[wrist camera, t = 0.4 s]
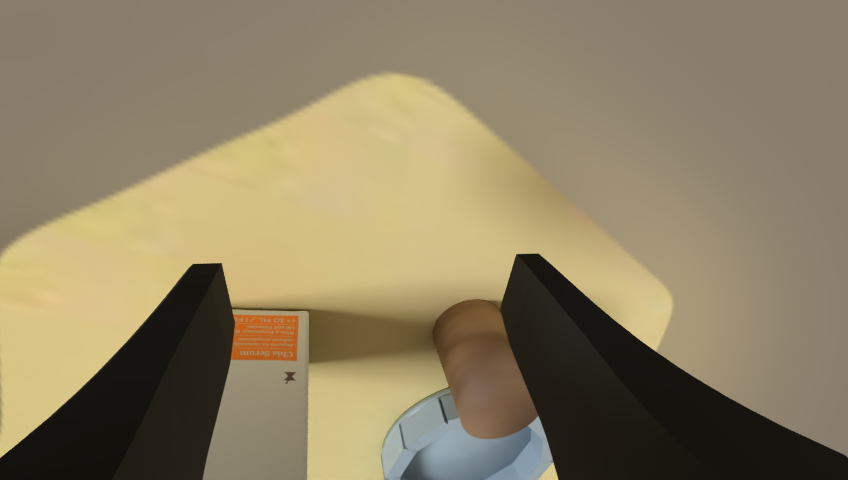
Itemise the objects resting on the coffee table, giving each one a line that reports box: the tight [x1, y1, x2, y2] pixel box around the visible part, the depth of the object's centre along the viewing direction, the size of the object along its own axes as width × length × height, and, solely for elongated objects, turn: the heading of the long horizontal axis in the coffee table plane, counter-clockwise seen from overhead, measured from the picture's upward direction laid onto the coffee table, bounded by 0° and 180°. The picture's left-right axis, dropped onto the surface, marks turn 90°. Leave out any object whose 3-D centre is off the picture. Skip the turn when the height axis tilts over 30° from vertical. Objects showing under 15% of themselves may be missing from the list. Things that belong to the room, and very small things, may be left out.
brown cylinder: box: [433, 300, 538, 439], centre depth 25 cm, size 4×4×6 cm
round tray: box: [381, 388, 553, 480], centre depth 32 cm, size 12×12×2 cm
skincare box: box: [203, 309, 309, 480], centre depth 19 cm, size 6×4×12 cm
